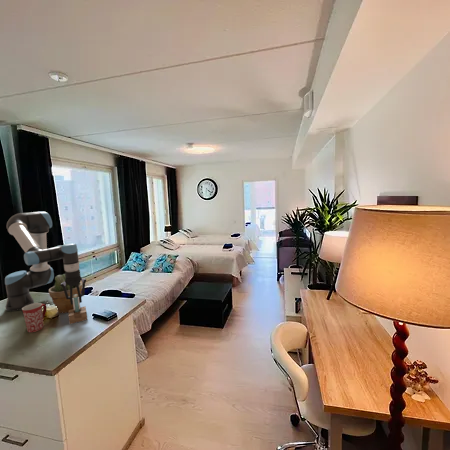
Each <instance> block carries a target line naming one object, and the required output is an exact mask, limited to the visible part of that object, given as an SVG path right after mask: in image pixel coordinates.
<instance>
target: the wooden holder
mask: <svg viewBox="0 0 450 450" xmlns="http://www.w3.org/2000/svg"><path fill="white" fill-rule="evenodd" d="M87 320H88V314H87V307H86V305H85V306H80V312H76V313H75V310H74V309H72V310H69V313H68V322H69V323H68V324H69V325H72V324H76V323H80V322H85V321H87Z"/></svg>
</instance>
